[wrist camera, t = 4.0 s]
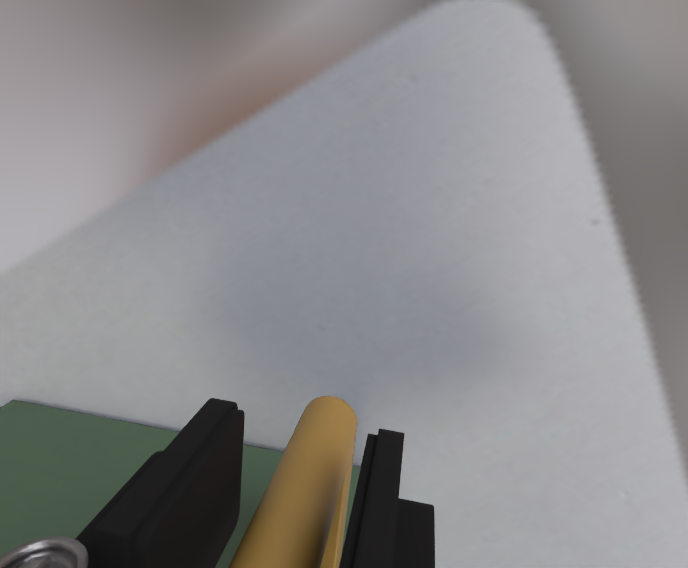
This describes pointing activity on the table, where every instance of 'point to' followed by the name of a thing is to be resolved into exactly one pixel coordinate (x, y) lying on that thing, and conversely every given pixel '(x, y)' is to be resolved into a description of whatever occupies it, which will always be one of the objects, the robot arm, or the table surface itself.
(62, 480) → the cupboard door
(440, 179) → the table surface
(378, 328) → the table surface
